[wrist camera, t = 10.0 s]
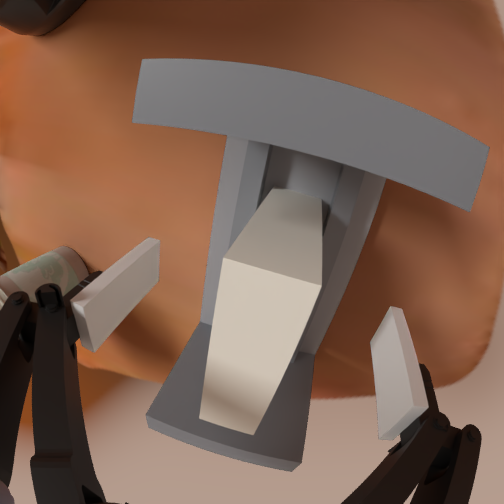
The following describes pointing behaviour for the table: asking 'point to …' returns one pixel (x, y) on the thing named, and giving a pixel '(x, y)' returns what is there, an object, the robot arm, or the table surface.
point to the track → (300, 180)
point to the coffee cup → (44, 274)
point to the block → (262, 308)
